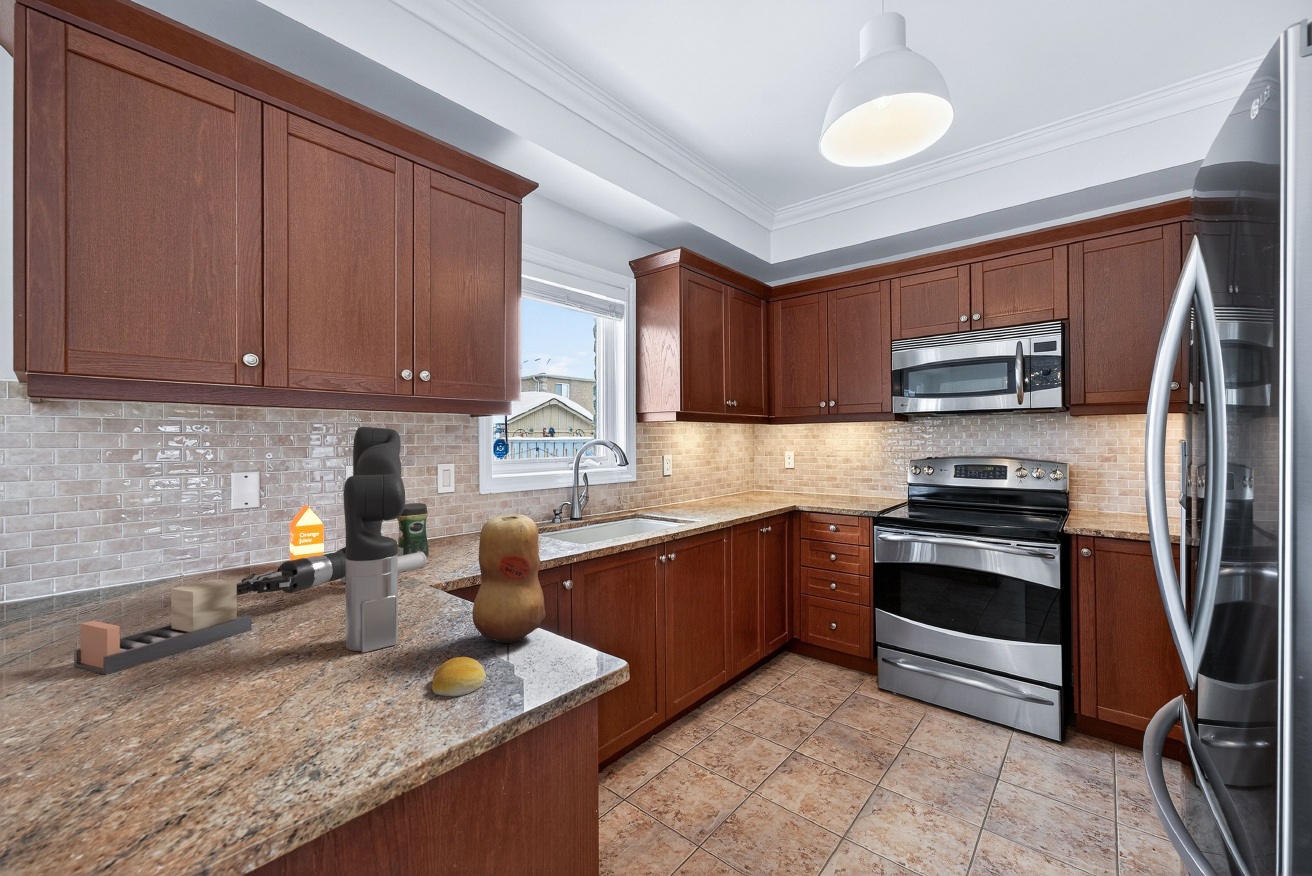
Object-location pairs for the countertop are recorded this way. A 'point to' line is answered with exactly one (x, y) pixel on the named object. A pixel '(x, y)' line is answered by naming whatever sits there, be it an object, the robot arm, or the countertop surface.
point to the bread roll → (458, 677)
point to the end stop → (98, 642)
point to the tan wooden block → (203, 604)
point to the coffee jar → (413, 529)
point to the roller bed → (162, 644)
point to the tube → (408, 562)
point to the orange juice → (306, 535)
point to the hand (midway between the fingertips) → (228, 591)
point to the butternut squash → (509, 579)
